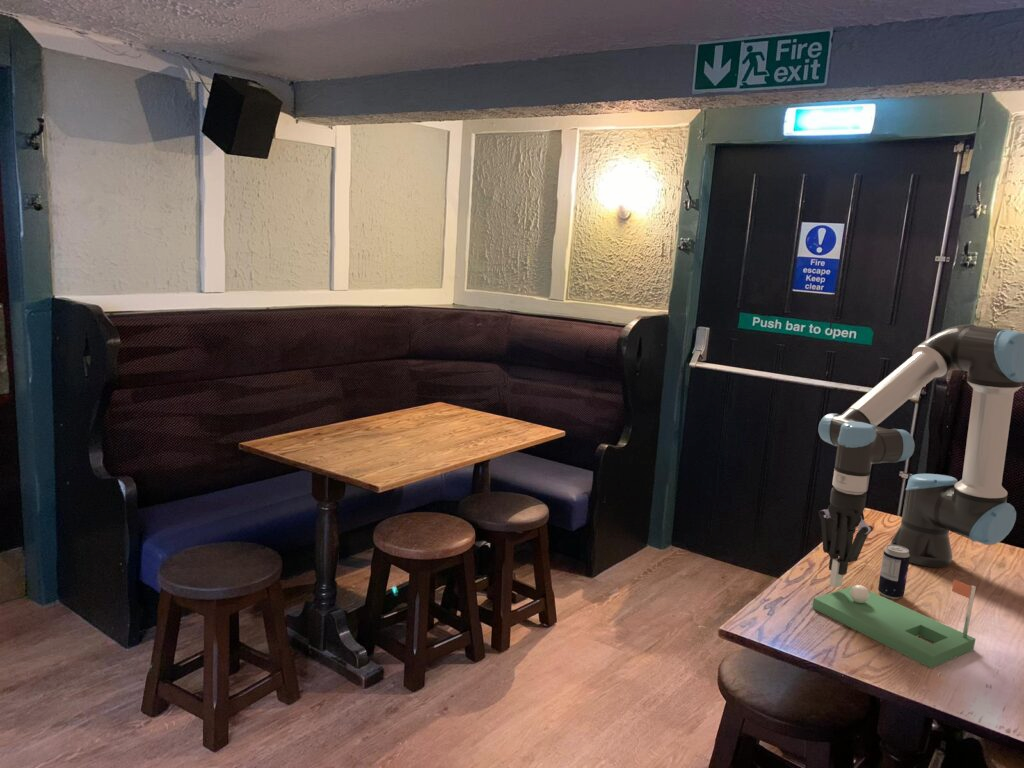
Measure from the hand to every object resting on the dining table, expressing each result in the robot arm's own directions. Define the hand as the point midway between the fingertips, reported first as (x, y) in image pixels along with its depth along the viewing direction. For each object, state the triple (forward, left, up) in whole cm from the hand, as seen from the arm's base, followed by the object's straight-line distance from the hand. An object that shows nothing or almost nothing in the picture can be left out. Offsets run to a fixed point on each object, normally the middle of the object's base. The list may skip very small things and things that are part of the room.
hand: (835, 585), depth 182 cm
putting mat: (0, +14, -4) cm, 15 cm away
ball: (0, +6, -1) cm, 6 cm away
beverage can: (-16, +4, -4) cm, 17 cm away
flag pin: (-7, +25, -4) cm, 26 cm away
